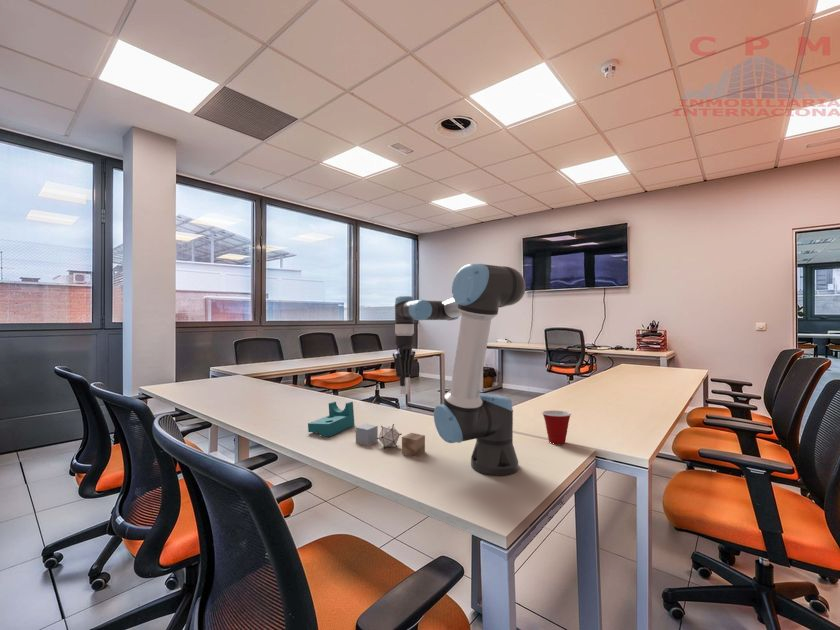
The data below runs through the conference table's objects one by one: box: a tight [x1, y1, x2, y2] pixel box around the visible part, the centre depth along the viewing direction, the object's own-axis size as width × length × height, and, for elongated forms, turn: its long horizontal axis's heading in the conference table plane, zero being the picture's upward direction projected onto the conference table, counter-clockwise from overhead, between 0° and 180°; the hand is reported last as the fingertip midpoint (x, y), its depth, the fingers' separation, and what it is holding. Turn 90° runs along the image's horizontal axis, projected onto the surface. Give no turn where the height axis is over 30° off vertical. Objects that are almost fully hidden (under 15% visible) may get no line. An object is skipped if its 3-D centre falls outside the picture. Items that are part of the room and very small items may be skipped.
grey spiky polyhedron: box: [376, 423, 402, 450], centre depth 136 cm, size 9×8×10 cm
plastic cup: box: [541, 409, 572, 445], centre depth 141 cm, size 11×11×12 cm
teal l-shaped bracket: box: [307, 401, 355, 437], centre depth 158 cm, size 18×11×10 cm, turn 157°
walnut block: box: [401, 432, 426, 458], centre depth 130 cm, size 6×6×6 cm
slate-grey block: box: [355, 423, 379, 446], centre depth 142 cm, size 6×6×6 cm
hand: (404, 393), depth 145 cm, fingers closed
